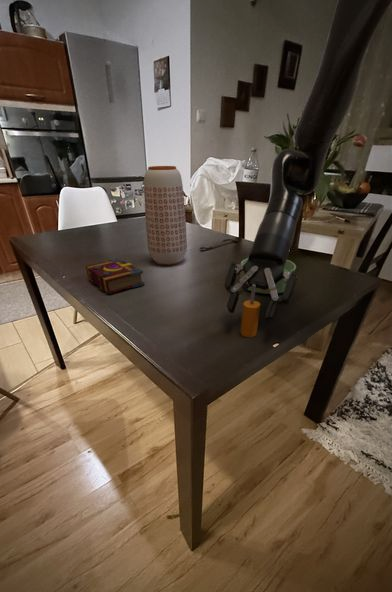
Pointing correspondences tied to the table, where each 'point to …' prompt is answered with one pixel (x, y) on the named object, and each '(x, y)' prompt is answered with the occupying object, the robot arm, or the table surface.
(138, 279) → the decorative book
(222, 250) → the table surface
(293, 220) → the robot arm
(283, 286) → the green round bowl
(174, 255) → the patterned ceramic vase
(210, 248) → the tomahawk
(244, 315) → the screwdriver
